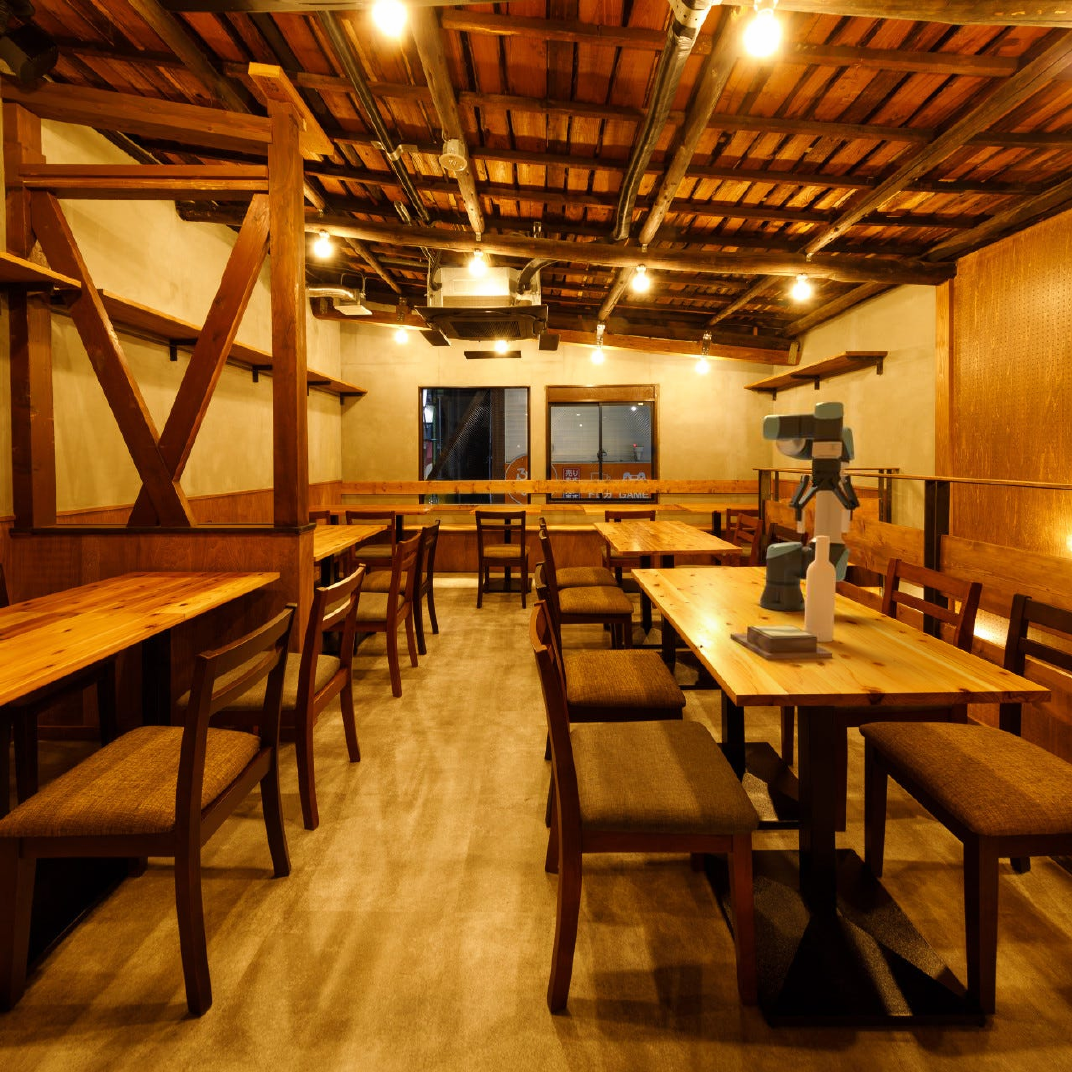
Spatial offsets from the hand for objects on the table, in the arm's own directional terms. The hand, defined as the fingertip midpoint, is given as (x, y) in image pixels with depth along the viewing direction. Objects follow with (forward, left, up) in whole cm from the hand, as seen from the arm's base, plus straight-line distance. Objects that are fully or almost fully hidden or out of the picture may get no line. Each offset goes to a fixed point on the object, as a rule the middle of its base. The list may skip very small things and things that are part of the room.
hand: (823, 532), depth 180 cm
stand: (+7, -16, -31) cm, 36 cm away
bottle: (0, 0, -31) cm, 31 cm away
